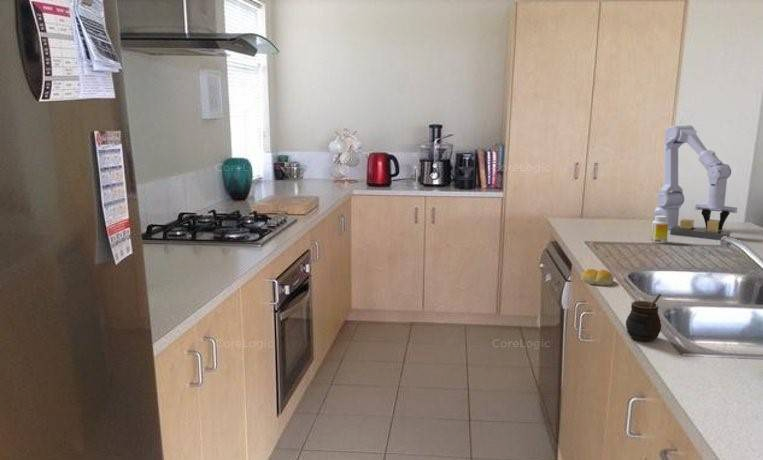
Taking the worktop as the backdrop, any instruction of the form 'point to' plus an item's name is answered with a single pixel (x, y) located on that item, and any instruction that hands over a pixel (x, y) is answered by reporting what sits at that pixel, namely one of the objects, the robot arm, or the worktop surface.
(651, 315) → the mate gourd
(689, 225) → the beige wooden block
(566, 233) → the worktop surface
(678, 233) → the rail
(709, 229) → the tan wooden block
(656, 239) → the supplement bottle
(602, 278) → the bread roll
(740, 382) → the worktop surface
